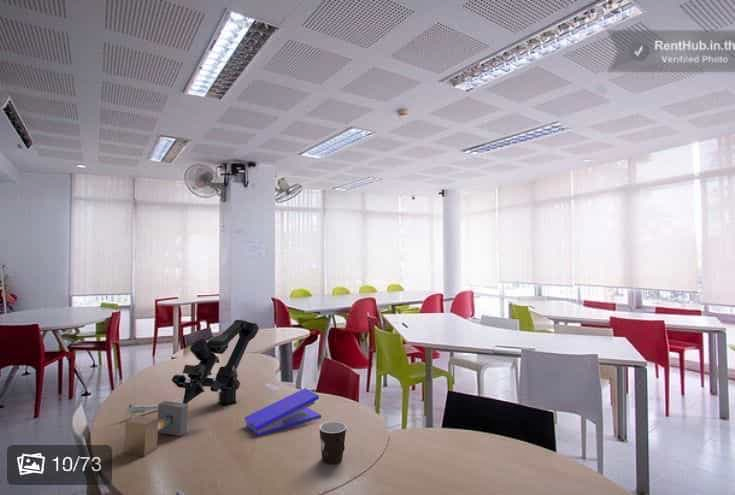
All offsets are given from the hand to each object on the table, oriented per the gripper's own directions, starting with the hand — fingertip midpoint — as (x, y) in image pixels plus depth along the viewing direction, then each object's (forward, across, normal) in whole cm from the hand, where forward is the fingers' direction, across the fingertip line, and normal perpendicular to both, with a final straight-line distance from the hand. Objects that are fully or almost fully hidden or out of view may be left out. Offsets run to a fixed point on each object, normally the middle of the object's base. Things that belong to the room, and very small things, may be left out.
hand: (184, 403), depth 141 cm
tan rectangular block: (+16, 0, -3) cm, 16 cm away
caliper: (0, -22, +12) cm, 26 cm away
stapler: (-5, +34, +18) cm, 38 cm away
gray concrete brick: (+10, 0, +2) cm, 10 cm away
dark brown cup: (+12, +62, +1) cm, 63 cm away
